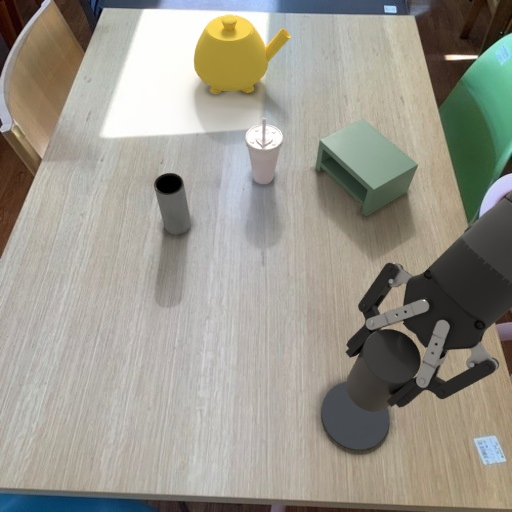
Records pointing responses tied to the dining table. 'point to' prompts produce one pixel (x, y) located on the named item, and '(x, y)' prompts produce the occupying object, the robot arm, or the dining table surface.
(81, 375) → the dining table surface
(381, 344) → the dark grey cylinder
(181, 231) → the planter
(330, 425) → the coaster
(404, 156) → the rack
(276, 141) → the smoothie
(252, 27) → the teapot
